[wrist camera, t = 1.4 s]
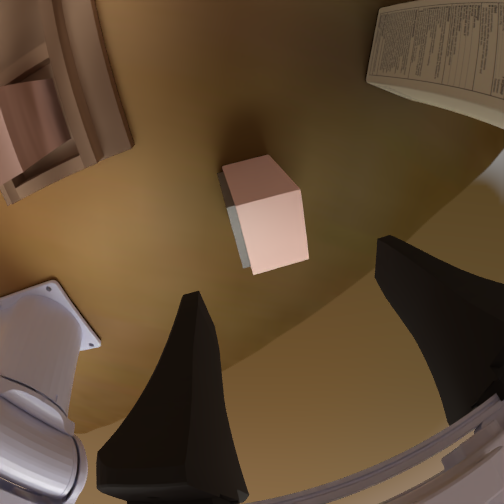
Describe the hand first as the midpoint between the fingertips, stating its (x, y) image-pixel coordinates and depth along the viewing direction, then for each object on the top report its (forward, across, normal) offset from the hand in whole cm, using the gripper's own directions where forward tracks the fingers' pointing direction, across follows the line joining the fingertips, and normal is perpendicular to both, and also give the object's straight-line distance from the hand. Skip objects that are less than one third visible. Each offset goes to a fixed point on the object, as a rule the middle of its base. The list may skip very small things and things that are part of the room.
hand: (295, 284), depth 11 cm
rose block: (+10, 0, 0) cm, 10 cm away
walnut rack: (+10, +11, -16) cm, 22 cm away
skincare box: (+10, -12, -8) cm, 17 cm away
